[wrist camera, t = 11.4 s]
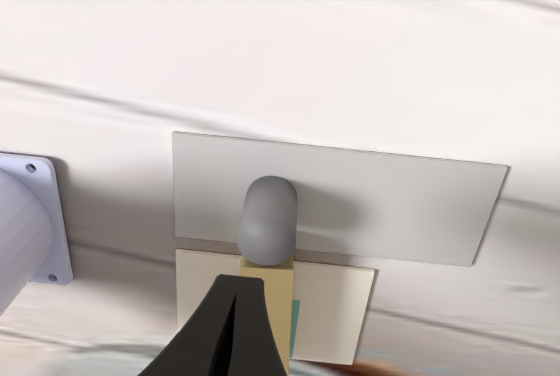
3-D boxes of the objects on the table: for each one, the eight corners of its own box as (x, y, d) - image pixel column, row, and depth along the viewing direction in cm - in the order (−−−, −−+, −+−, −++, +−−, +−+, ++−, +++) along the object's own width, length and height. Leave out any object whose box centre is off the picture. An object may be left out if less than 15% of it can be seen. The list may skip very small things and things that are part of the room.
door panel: (179, 343, 29) (161, 400, 25) (173, 131, 22) (147, 168, 18) (430, 369, 29) (447, 429, 25) (505, 165, 22) (544, 209, 18)
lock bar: (246, 230, 24) (239, 267, 21) (294, 232, 23) (293, 269, 21) (248, 353, 28) (242, 397, 25) (288, 356, 28) (287, 399, 25)
